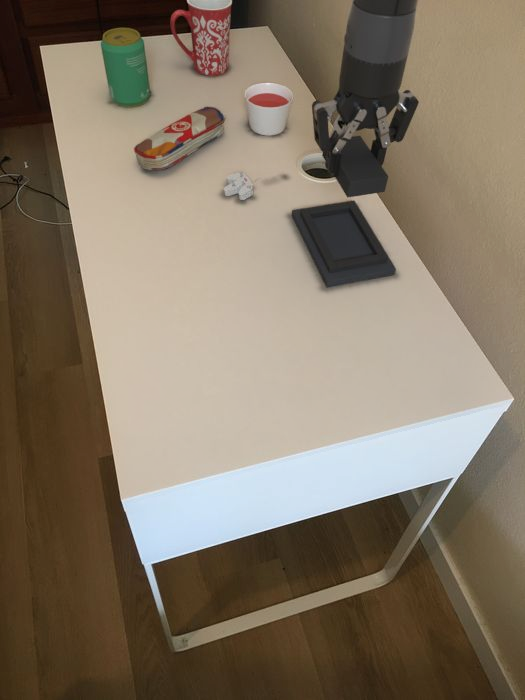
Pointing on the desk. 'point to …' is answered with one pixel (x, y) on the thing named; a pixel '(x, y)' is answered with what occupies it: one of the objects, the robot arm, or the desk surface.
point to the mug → (207, 34)
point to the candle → (268, 107)
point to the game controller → (239, 185)
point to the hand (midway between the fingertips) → (353, 170)
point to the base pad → (342, 243)
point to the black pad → (359, 170)
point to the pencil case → (180, 139)
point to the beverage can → (125, 66)
